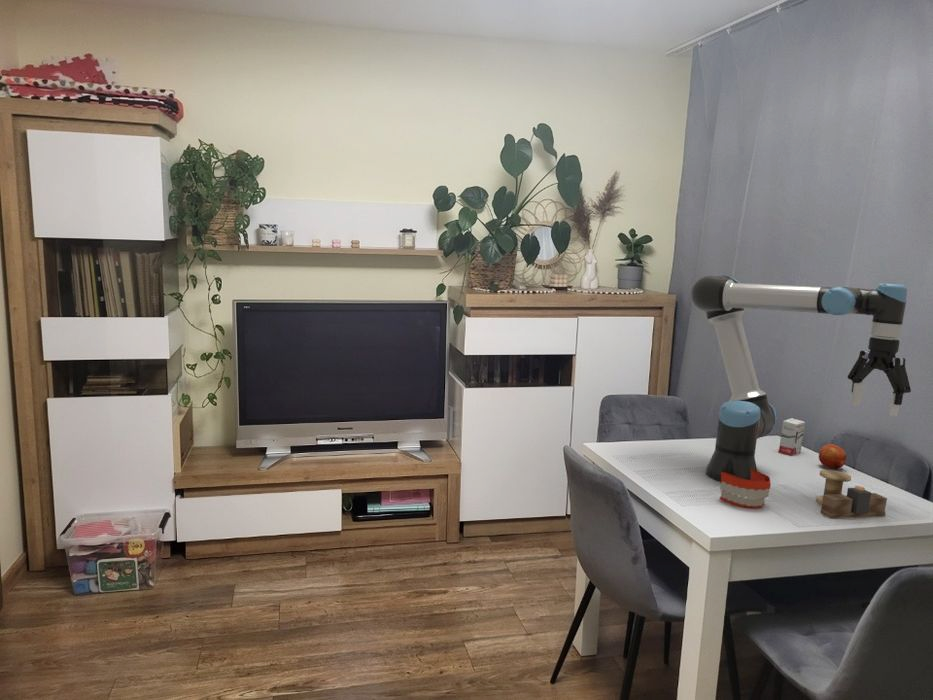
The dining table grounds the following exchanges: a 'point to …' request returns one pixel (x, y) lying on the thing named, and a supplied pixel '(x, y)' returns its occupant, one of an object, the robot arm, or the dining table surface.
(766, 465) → the dining table surface
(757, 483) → the toy
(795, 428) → the ink box
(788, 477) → the dining table surface
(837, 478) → the wooden spool
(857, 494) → the dark grey rectangular block
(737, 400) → the robot arm
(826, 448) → the apple
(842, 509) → the brown wooden u-shaped block
